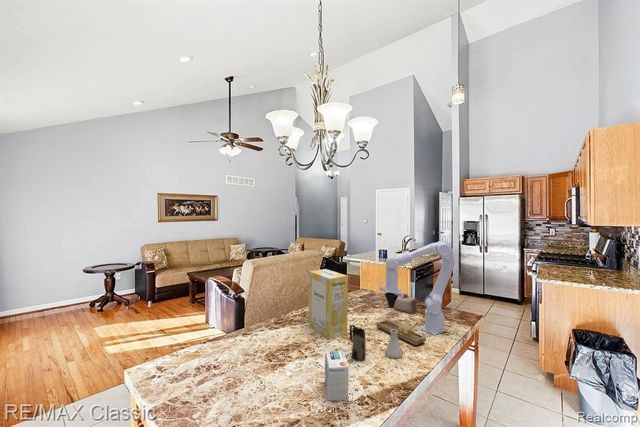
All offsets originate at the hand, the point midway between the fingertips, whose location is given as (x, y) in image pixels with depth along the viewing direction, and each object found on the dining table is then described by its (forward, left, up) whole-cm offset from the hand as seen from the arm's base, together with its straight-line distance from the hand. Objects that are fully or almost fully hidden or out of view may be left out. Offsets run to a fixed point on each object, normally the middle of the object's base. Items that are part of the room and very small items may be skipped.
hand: (391, 307), depth 148 cm
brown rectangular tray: (+4, +9, -10) cm, 14 cm away
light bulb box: (+54, +26, -10) cm, 61 cm away
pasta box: (+29, -15, -10) cm, 34 cm away
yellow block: (+4, +13, -8) cm, 15 cm away
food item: (-25, -13, -10) cm, 30 cm away
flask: (+20, +20, -10) cm, 30 cm away
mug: (+34, +13, -10) cm, 38 cm away
